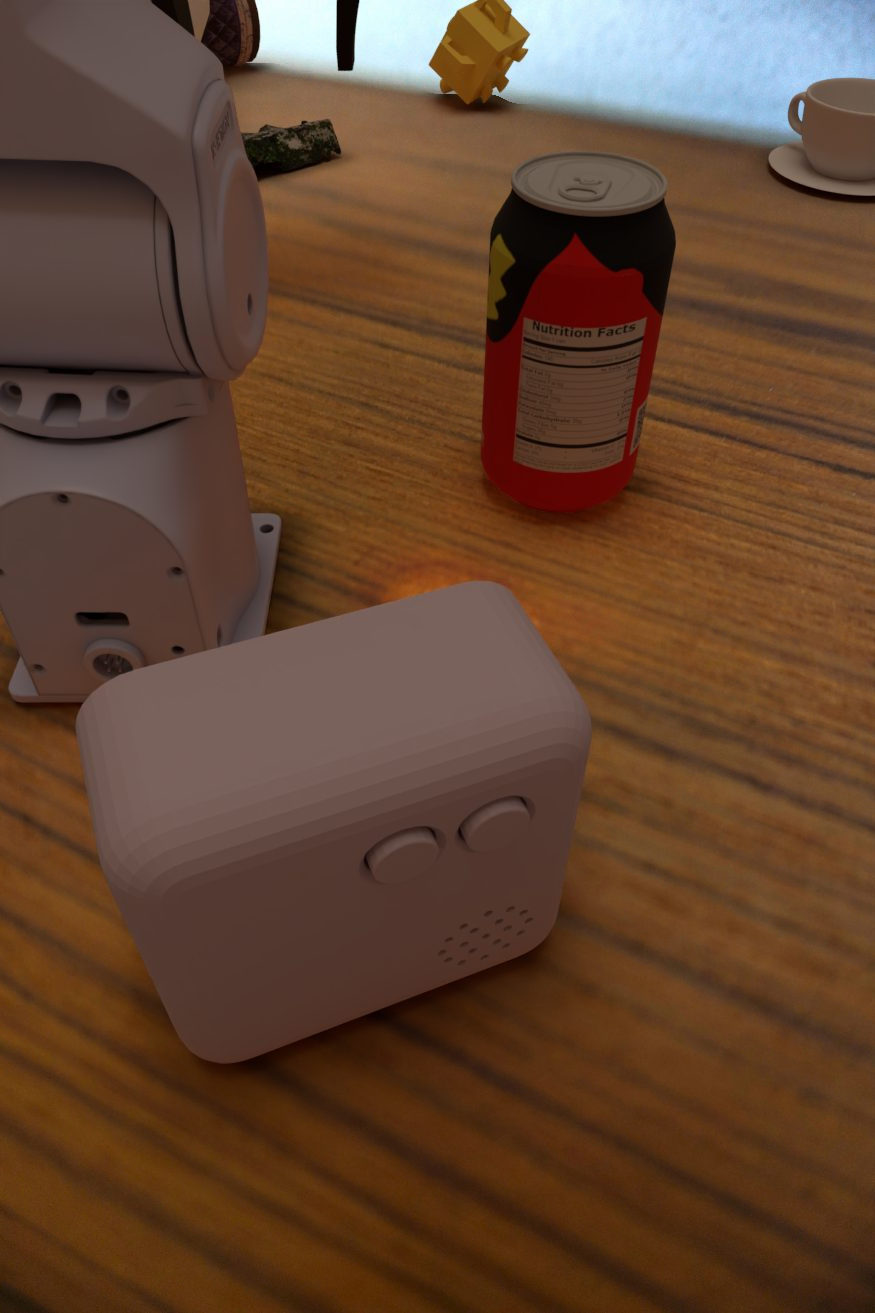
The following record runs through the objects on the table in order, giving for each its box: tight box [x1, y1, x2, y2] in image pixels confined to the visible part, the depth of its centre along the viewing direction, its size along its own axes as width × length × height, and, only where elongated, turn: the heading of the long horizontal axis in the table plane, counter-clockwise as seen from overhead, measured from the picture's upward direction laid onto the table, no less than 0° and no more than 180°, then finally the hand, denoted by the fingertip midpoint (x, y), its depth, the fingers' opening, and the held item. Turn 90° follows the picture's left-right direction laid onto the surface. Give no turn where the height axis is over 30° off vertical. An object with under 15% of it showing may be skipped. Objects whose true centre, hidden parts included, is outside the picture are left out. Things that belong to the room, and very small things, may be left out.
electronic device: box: [74, 580, 593, 1064], centre depth 22 cm, size 10×5×10 cm, turn 112°
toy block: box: [428, 0, 531, 105], centre depth 72 cm, size 8×8×6 cm
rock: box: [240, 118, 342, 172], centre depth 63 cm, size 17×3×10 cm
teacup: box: [768, 77, 875, 197], centre depth 62 cm, size 10×10×5 cm
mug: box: [201, 0, 261, 68], centre depth 77 cm, size 10×7×12 cm
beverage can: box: [480, 149, 677, 514], centre depth 36 cm, size 6×6×12 cm
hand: (266, 64), depth 46 cm, fingers open, 7 cm apart
